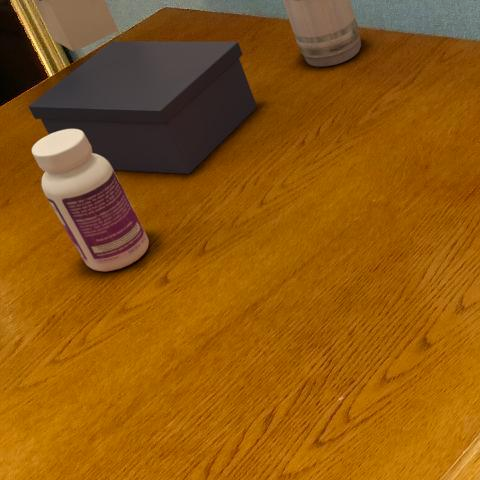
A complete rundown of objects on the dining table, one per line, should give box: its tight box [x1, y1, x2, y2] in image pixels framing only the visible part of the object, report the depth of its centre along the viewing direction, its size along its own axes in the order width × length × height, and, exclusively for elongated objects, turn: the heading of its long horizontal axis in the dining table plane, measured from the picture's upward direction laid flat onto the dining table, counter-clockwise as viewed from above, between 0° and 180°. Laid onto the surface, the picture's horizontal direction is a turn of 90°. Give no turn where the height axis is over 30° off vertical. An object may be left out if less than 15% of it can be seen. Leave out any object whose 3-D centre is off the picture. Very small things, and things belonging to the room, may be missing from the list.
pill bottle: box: [31, 129, 150, 272], centre depth 77 cm, size 5×5×10 cm
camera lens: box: [282, 0, 362, 68], centre depth 97 cm, size 6×6×8 cm
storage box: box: [27, 40, 258, 175], centre depth 92 cm, size 15×13×6 cm
